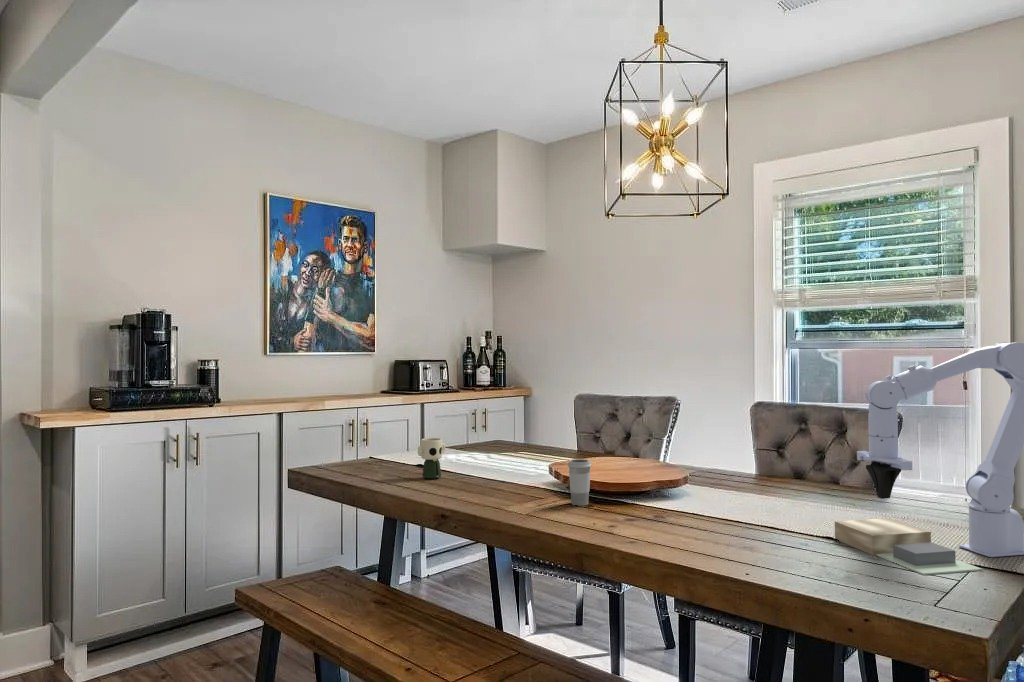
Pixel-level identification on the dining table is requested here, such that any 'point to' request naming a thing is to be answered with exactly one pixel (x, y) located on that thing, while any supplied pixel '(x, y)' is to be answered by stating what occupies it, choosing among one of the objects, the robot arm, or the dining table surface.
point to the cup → (579, 481)
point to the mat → (932, 566)
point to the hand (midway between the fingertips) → (883, 497)
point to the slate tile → (924, 554)
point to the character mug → (431, 456)
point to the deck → (879, 534)
